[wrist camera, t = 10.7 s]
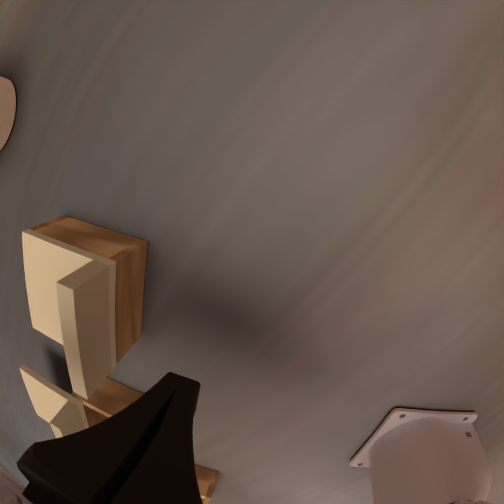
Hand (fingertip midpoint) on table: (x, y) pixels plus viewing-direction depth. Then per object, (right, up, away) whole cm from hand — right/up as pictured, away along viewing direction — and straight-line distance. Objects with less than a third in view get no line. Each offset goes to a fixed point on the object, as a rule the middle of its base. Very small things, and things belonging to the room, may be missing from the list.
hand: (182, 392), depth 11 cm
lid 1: (-8, +3, +4) cm, 9 cm away
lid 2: (-14, -8, +8) cm, 18 cm away
